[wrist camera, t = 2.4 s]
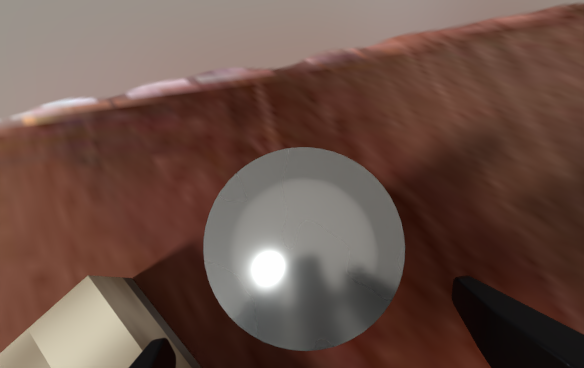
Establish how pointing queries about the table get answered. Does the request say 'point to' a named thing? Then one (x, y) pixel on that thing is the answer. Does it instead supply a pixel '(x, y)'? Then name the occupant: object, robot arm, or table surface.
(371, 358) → the table surface
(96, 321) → the socket block
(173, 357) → the robot arm
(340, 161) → the steel pin
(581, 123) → the table surface
